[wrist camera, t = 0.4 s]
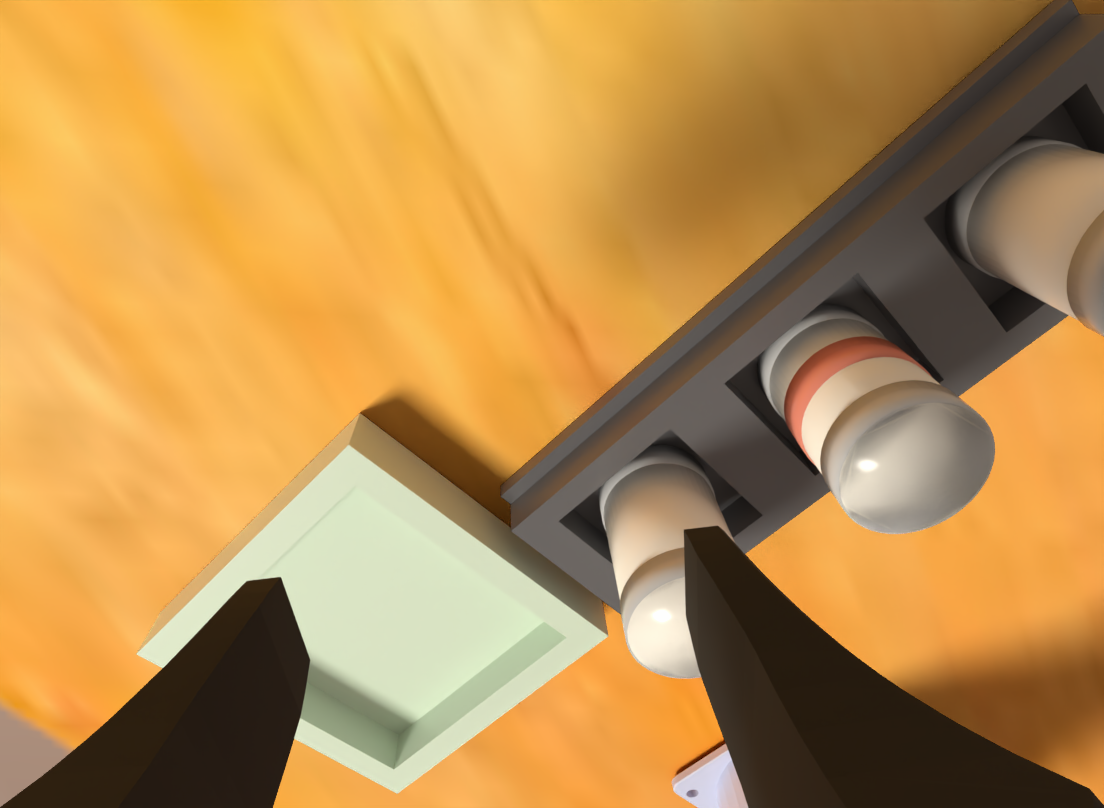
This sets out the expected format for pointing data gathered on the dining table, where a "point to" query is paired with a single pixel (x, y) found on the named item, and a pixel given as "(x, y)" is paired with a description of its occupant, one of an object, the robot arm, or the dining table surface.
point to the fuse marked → (875, 422)
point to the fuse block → (828, 278)
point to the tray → (396, 606)
